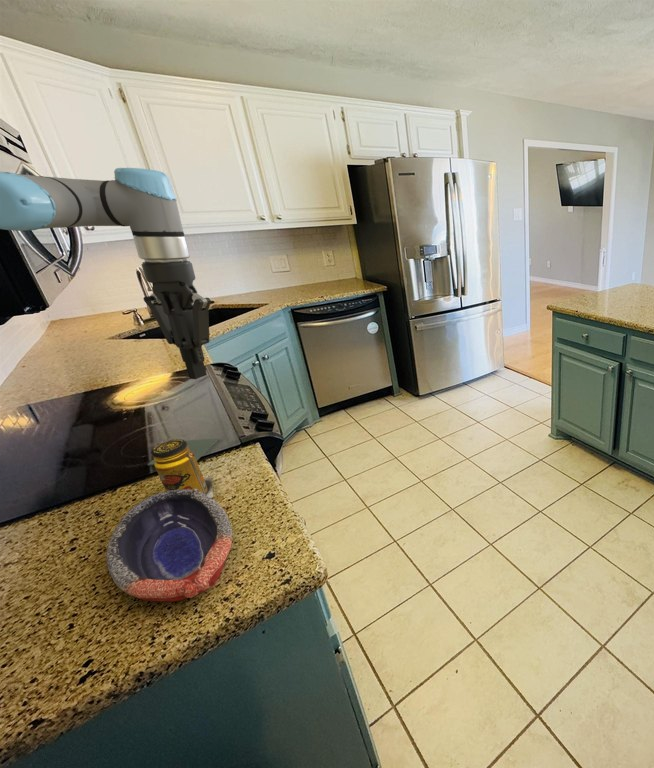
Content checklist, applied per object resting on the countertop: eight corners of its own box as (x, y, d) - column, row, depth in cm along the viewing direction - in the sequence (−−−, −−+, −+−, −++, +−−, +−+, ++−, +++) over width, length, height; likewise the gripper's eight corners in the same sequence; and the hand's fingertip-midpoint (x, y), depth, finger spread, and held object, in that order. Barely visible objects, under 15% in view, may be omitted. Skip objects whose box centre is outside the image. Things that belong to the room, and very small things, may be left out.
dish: (213, 491, 83) (205, 471, 81) (257, 581, 62) (248, 557, 60) (111, 531, 73) (99, 509, 71) (125, 653, 53) (108, 627, 51)
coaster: (147, 466, 91) (147, 464, 91) (176, 442, 101) (175, 441, 100) (194, 462, 92) (194, 461, 92) (219, 439, 101) (218, 438, 101)
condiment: (167, 513, 77) (143, 460, 72) (169, 490, 83) (147, 440, 78) (213, 497, 81) (193, 446, 76) (212, 477, 87) (193, 428, 82)
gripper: (213, 260, 80) (239, 373, 88) (155, 258, 82) (187, 369, 90) (178, 262, 73) (210, 385, 81) (116, 260, 75) (154, 380, 83)
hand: (198, 376), depth 86 cm, fingers closed
